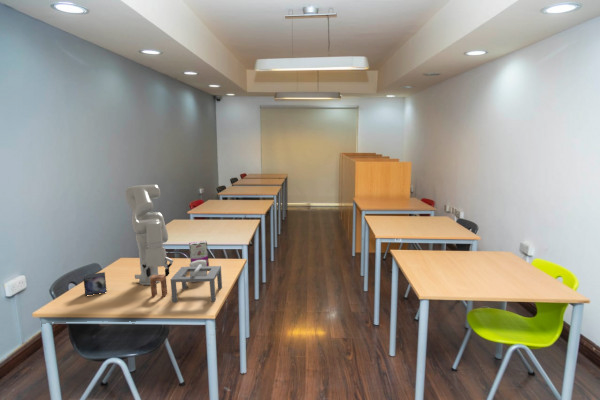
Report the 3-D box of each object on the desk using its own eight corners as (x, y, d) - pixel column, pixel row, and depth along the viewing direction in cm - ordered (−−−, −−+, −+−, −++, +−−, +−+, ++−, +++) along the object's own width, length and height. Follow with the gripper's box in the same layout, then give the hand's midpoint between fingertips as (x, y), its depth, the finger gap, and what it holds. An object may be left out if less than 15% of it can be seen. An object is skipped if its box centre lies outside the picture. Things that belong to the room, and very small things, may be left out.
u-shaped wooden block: (151, 297, 205) (150, 277, 203) (154, 294, 209) (152, 274, 207) (164, 296, 205) (163, 277, 203) (167, 293, 209) (165, 274, 207)
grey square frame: (172, 302, 198) (170, 275, 195) (183, 288, 217) (181, 263, 214) (214, 301, 198) (213, 274, 195) (222, 287, 217) (220, 262, 214)
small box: (85, 297, 207) (82, 278, 205) (85, 293, 213) (83, 275, 211) (106, 293, 212) (104, 275, 210) (106, 289, 217) (104, 271, 216)
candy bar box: (207, 264, 257) (206, 240, 254) (209, 266, 252) (207, 242, 250) (190, 266, 253) (188, 242, 250) (191, 268, 248) (189, 244, 245)
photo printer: (206, 277, 232) (204, 257, 230) (208, 279, 229) (207, 259, 227) (189, 281, 227) (187, 261, 225) (191, 283, 223) (190, 263, 221)
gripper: (135, 247, 199) (139, 278, 201) (169, 246, 199) (172, 277, 201) (141, 243, 206) (144, 274, 209) (173, 242, 206) (176, 273, 208)
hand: (158, 275), depth 205 cm, fingers open, 9 cm apart
